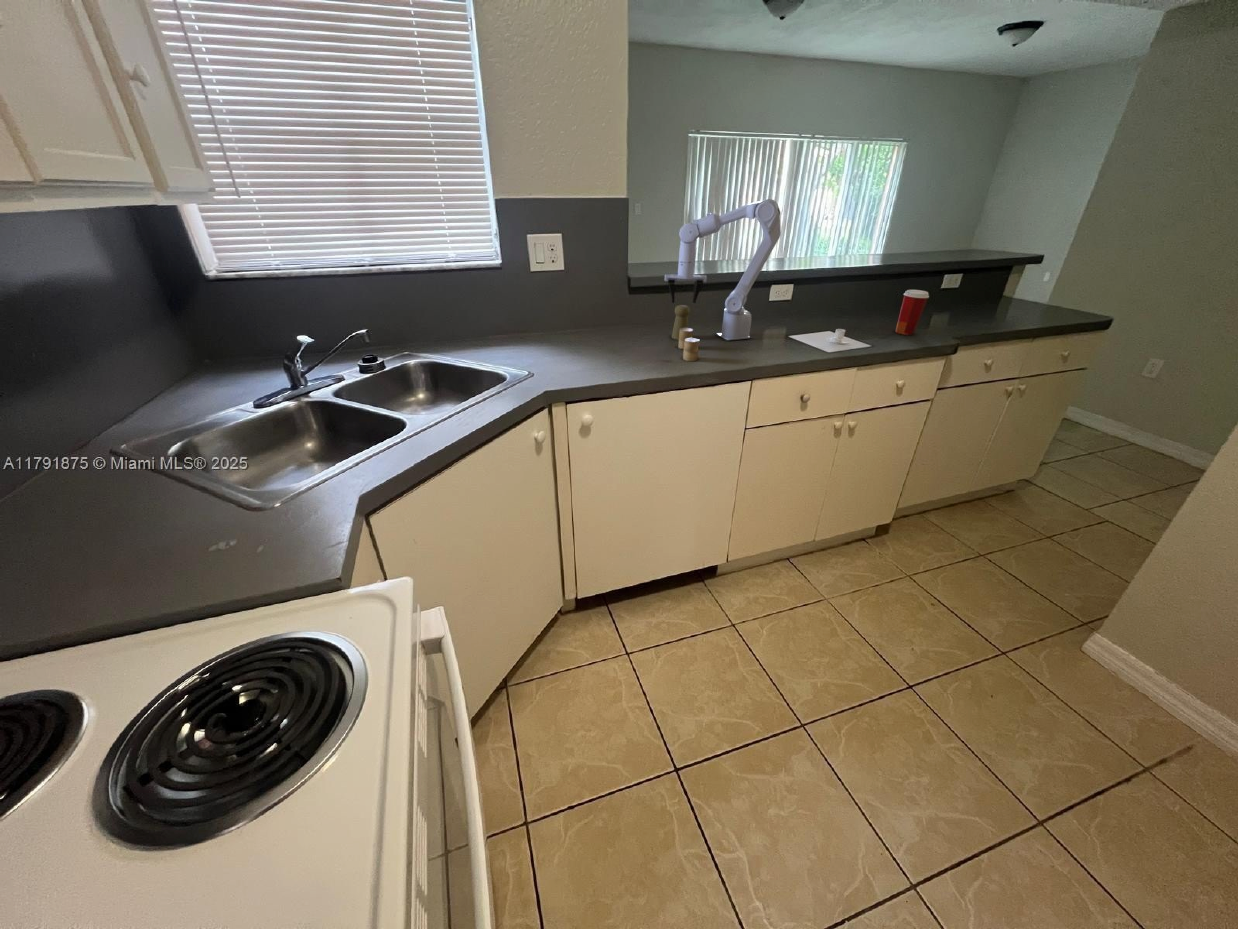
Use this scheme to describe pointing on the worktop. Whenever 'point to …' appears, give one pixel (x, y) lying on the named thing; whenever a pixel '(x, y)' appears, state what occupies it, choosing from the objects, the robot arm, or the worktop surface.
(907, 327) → the coffee cup
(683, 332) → the post
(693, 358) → the post
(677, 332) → the cork
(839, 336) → the teacup and saucer
